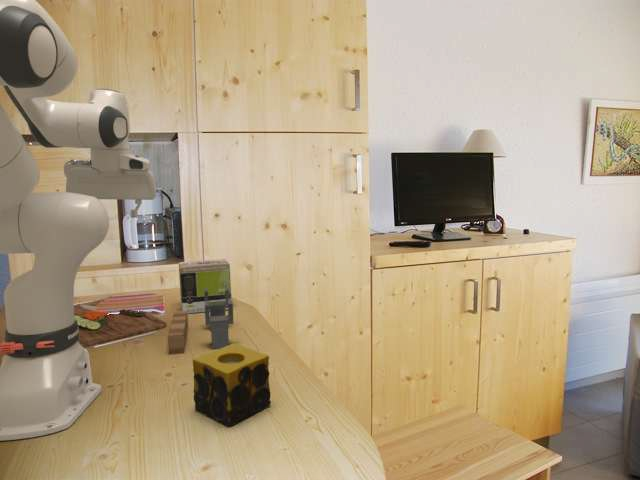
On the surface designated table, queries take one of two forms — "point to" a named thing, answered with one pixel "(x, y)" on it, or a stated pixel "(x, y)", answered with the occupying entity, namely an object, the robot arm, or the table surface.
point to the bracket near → (219, 326)
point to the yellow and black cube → (231, 384)
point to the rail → (178, 333)
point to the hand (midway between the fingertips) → (113, 217)
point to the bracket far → (218, 304)
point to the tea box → (203, 283)
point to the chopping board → (112, 325)
